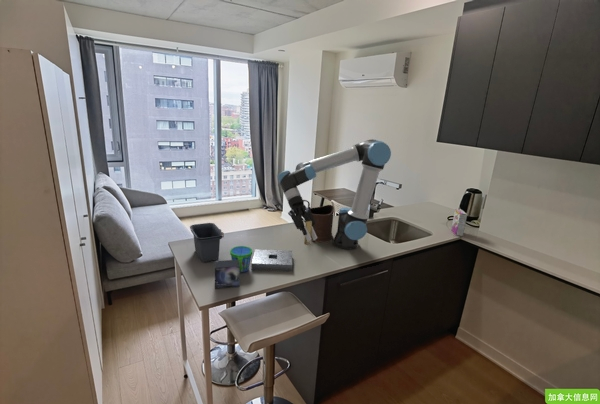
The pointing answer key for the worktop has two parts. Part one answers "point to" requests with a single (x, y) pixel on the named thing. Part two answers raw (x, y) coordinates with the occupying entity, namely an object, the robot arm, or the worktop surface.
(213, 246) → the storage bin
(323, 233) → the brown metal pitcher
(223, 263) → the small box
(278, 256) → the plate
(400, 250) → the worktop surface
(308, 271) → the worktop surface
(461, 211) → the candy bar box
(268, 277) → the worktop surface
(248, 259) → the snack cup
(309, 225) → the brass pin
